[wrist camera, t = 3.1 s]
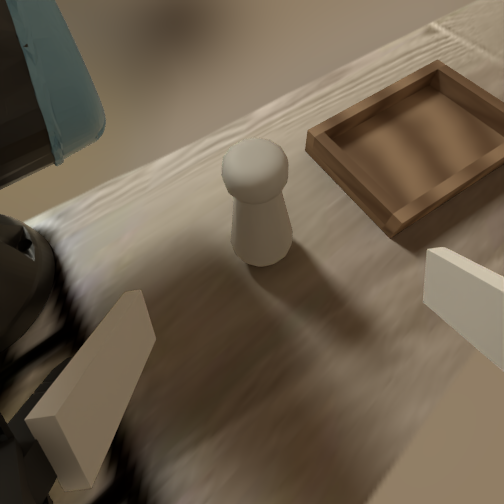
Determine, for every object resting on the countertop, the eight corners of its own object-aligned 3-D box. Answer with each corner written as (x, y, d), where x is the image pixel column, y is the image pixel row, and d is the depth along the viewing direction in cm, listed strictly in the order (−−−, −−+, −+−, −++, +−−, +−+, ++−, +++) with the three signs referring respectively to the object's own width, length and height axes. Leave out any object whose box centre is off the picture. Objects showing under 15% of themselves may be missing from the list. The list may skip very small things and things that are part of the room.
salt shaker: (297, 229, 30) (312, 129, 18) (283, 280, 28) (290, 205, 16) (243, 217, 31) (224, 115, 19) (226, 266, 29) (192, 184, 17)
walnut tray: (390, 238, 29) (402, 223, 26) (305, 150, 34) (307, 130, 32) (522, 151, 32) (545, 129, 29) (425, 83, 37) (437, 59, 35)
